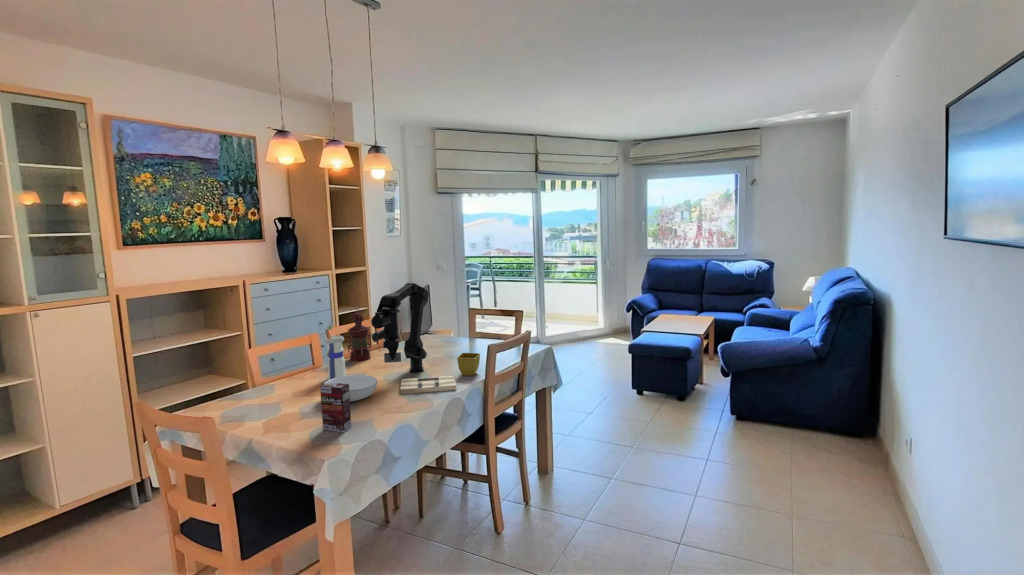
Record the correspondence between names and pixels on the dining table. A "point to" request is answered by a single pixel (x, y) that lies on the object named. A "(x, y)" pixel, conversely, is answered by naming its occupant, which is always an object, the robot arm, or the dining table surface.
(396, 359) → the dark grey chamfered block
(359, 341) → the lantern
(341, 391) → the supplement box
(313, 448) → the dining table surface
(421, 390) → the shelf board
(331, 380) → the serving bowl
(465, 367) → the flower pot
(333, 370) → the water bottle
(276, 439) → the dining table surface
